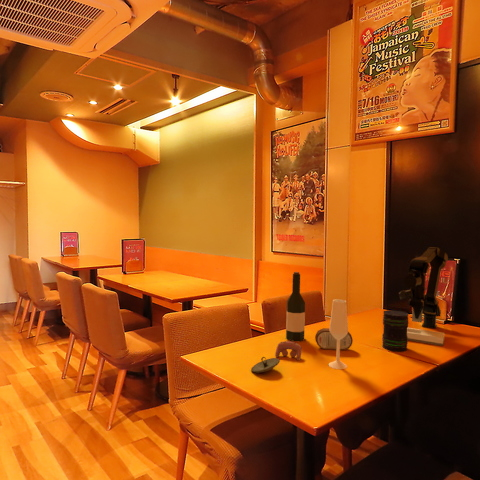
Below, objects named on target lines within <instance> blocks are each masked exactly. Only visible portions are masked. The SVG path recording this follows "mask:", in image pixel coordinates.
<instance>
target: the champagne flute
mask: <svg viewBox="0 0 480 480" xmlns="http://www.w3.org/2000/svg"><path fill="white" fill-rule="evenodd" d="M347 310H348V307H347V300H345V299H341V298H340V299H332V304H331V313H330V321H329V322H330V323H329V331H330V333H331V335H332V336H333V337H334V338H335V339H337V350H335V351H336V353H335V354H336V355H335V356H336V358H335V360H334V361H331V362H329V363H328V366H329V368H332V369H335V370H336V369H337V370H344V369H347V368H348V365H347V364H345V363H344V362H343V361H341V360H340V359H341V358H340V357H341V356H340V355H341V350H340V340H341V339H342V338H344V337H345V336H346V335H347V333H348V332H349V326H348V325H349V324H348V323H349V322H348V311H347Z"/></svg>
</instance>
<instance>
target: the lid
mask: <svg viewBox="0 0 480 480" xmlns="http://www.w3.org/2000/svg"><path fill="white" fill-rule="evenodd" d="M280 362H281V361H280V359H279V358H276V357H271V358H266V357H265V356H262V357H261V361H260V362H257V363H256V364H254V365H253V366H252V367H251V368H250V369H251V370H250V372H253V373H256V374H258V373H263V372H264V373H265V372H267V371H268V372H269V371H271V370H273V369H274V368H275V367H277V366H278V365H279V364H280Z"/></svg>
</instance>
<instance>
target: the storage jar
mask: <svg viewBox="0 0 480 480" xmlns="http://www.w3.org/2000/svg"><path fill="white" fill-rule="evenodd" d="M382 324H383V325H382V326H383V330H382V331H383V333H382V345H381V346H382V349H384V350H385V351H386V350H387V351H391V352H394V353H396V352H397V353H403V352H404V351H405V352H406V351H408V341H409V340H408V337H407V328H409V313H408V312H406V311H402V310H395V309H394V310H393V309H388V310H384V311H383V317H382Z"/></svg>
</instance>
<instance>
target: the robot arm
mask: <svg viewBox="0 0 480 480" xmlns="http://www.w3.org/2000/svg"><path fill="white" fill-rule="evenodd" d="M448 259H449V256H448V254H447V253H446V251H443V250H442V249H440V248H439V247H431V246H430V247H427V249H426V250H425V251H424V252H423V254H421V255H420V256H419V257H415V258H413V259H411V261H410V263H409V266H408V268H407V272H406V273H407V274H408V275H407V276H405V277H404V280H403V283H404V285H405V286H406V287H407V288H409V289H407V290H404V289H403V290H400V292H398V297H399V299H400V300H404V299H407V298H409V300H408V304H407V305H408V306H410V307H411V308H412V310H413V309H414V314H415V318H416V319H418V318H419V316H420V313H421V311H422V309H423V321H422V322H423V323H422V325H421V327H423V328H429V329H437V327H438V324H437V318H438V317H441V312H442V310H441V308H440V305H439V301H438V298H437V293H438V288H439V283H440V278H441V277H440V276H441V273H442V269H444V268H445V267H446V265H447V262H448V261H449V260H448ZM429 269H430V272H429V278H428V281H427V285H426V276H427V274H428V271H429ZM426 286H427V287H426Z"/></svg>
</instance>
